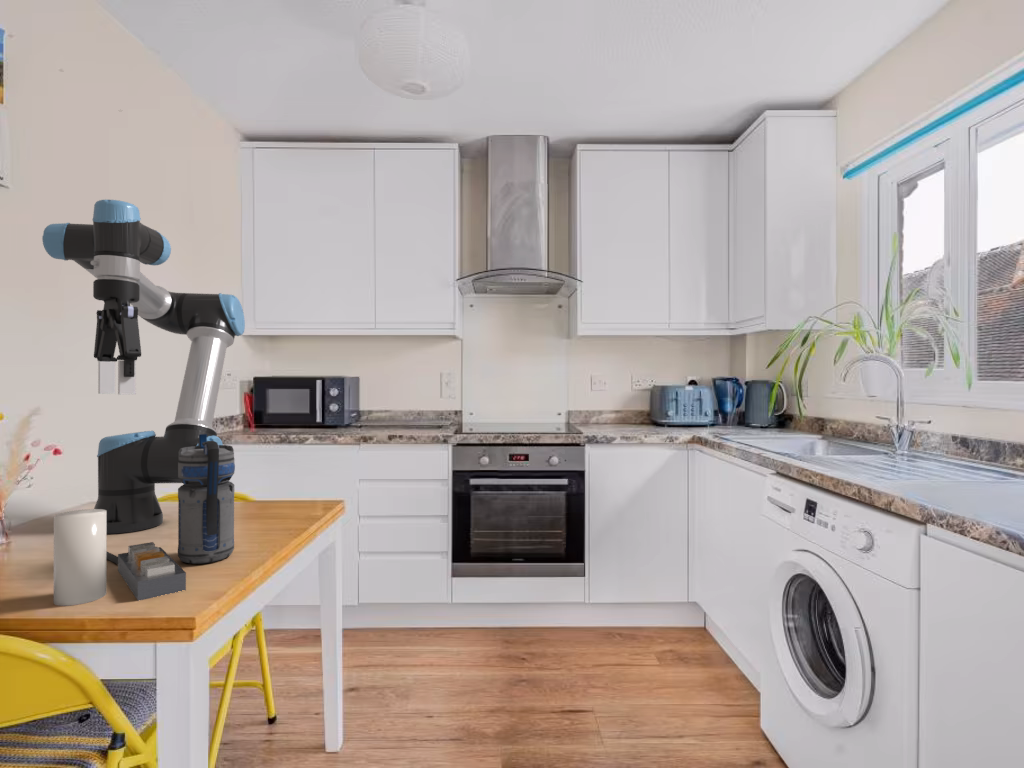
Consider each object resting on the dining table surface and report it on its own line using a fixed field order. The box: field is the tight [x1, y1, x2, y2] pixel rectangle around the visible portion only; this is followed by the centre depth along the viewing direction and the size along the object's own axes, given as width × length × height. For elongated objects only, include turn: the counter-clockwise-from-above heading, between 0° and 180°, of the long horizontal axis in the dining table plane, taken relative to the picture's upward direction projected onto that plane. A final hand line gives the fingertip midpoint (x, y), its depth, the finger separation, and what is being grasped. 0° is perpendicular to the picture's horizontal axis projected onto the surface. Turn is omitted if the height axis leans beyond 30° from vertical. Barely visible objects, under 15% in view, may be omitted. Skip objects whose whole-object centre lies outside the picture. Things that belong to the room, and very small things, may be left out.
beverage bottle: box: [177, 434, 236, 565], centre depth 115 cm, size 10×13×25 cm
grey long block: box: [117, 541, 187, 602], centre depth 103 cm, size 20×7×5 cm, turn 43°
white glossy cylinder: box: [53, 508, 108, 607], centre depth 94 cm, size 7×7×14 cm
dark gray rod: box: [106, 550, 118, 565], centre depth 114 cm, size 11×1×1 cm, turn 54°
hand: (116, 393), depth 112 cm, fingers open, 9 cm apart
